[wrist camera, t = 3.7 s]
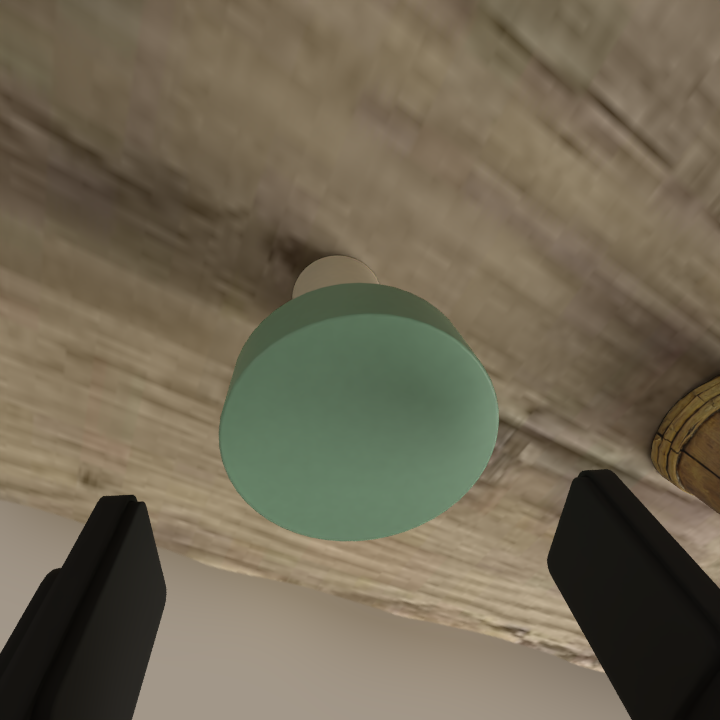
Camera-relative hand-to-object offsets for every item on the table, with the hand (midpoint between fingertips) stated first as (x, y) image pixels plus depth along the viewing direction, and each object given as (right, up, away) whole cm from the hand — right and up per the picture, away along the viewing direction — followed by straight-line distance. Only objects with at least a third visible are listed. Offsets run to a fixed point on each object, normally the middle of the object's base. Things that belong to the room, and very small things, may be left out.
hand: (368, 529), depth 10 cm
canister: (-1, +7, +12) cm, 14 cm away
